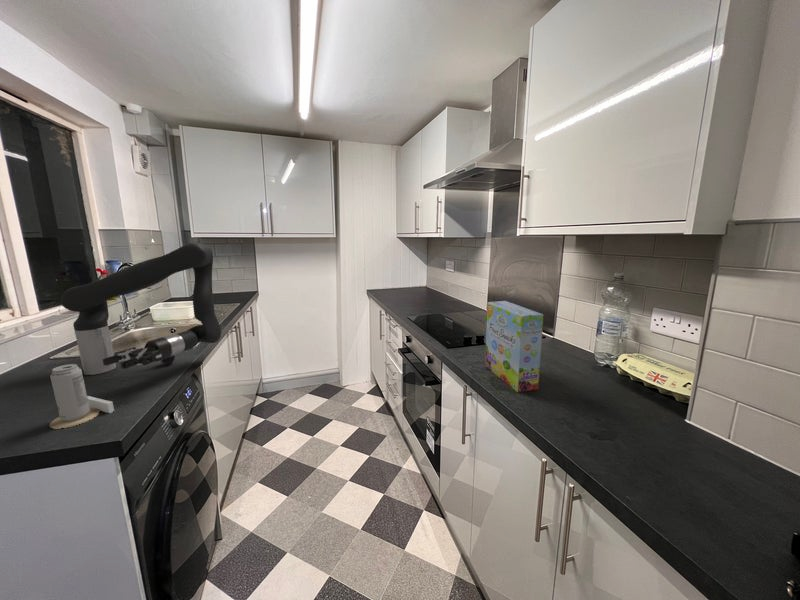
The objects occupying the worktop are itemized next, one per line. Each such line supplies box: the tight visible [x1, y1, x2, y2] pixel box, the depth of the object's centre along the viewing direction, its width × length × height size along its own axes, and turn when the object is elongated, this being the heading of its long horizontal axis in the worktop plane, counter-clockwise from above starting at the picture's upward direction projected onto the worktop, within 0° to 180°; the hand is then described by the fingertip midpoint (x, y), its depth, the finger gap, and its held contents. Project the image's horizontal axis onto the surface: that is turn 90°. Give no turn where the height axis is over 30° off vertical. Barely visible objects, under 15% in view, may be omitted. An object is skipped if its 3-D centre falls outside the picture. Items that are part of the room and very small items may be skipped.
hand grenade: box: [160, 355, 176, 366], centre depth 127 cm, size 6×5×10 cm
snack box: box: [484, 300, 545, 393], centre depth 110 cm, size 22×9×26 cm, turn 14°
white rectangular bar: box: [87, 395, 115, 414], centre depth 97 cm, size 21×1×3 cm, turn 71°
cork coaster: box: [49, 408, 101, 430], centre depth 91 cm, size 10×10×1 cm
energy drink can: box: [49, 363, 90, 422], centre depth 89 cm, size 6×6×15 cm
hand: (112, 364), depth 98 cm, fingers open, 8 cm apart
